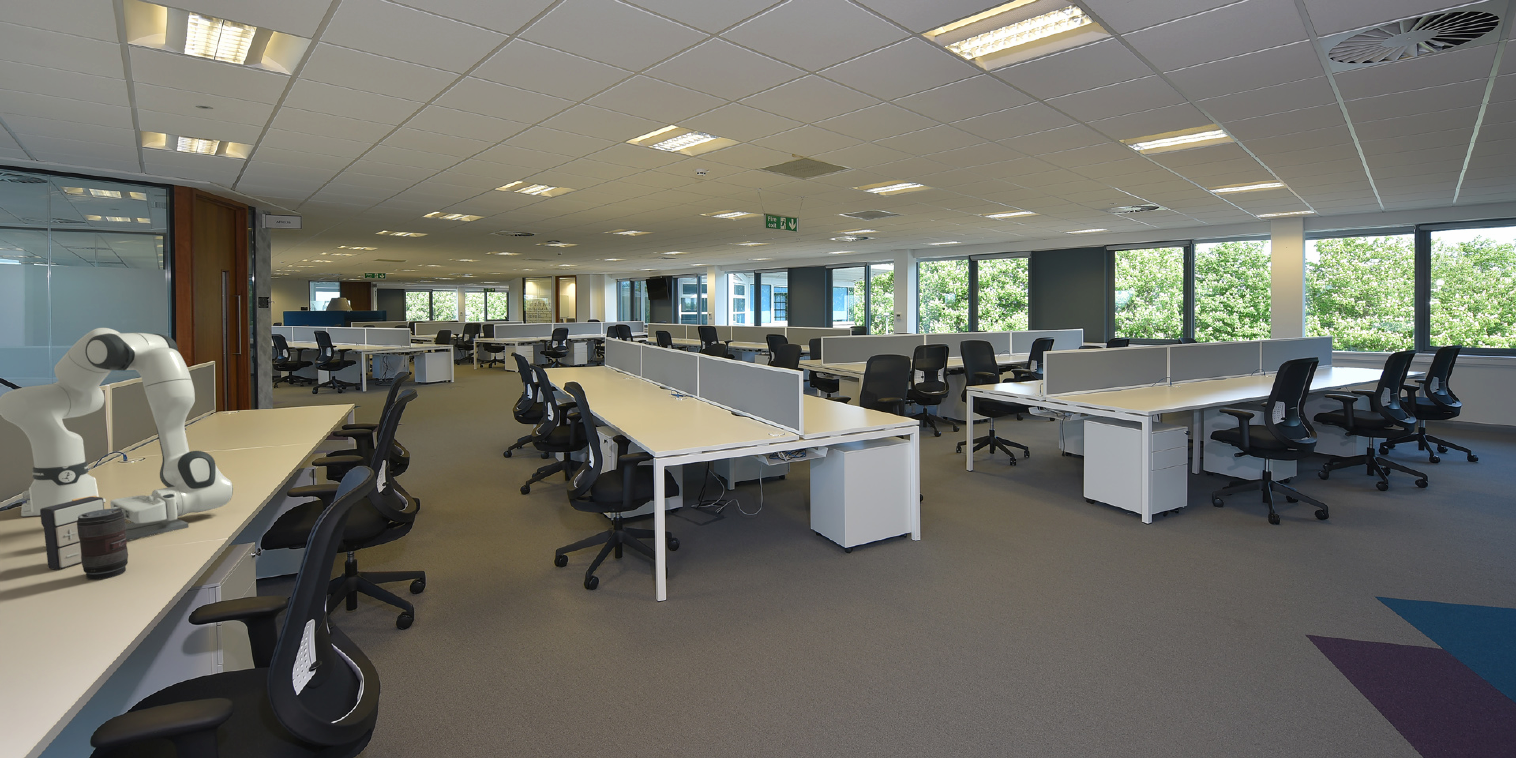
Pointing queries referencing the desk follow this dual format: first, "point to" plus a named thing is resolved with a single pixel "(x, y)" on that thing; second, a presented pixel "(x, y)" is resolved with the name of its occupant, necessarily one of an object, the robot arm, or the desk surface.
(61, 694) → the desk surface
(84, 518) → the camera lens
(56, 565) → the calculator
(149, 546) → the desk surface
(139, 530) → the fader console
